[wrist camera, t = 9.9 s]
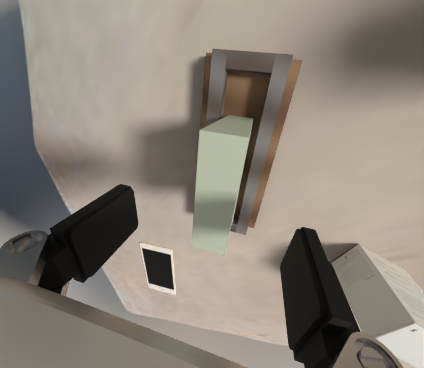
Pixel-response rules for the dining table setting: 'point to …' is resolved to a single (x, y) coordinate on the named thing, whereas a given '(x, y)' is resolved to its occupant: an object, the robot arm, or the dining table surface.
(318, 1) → the dining table surface
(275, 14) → the dining table surface
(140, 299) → the dining table surface
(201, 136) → the door panel
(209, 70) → the track board
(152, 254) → the cell phone
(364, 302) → the small box
